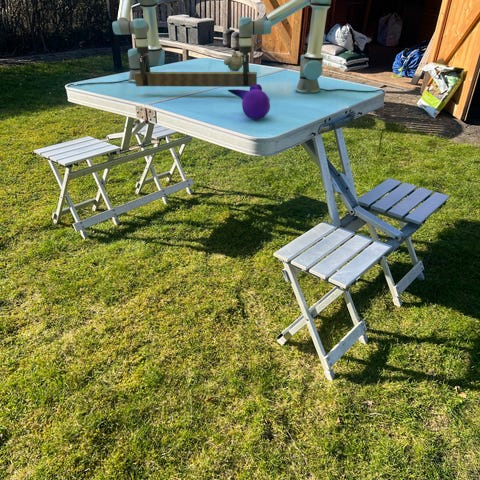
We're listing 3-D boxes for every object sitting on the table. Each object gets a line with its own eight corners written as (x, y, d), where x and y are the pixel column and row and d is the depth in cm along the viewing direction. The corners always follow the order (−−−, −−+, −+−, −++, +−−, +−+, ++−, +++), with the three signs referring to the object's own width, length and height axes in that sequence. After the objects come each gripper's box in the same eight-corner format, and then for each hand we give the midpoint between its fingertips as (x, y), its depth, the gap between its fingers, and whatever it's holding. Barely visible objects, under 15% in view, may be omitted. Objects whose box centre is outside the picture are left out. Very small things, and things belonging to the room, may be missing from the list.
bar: (136, 86, 291) (134, 73, 287) (138, 84, 296) (137, 71, 292) (256, 86, 282) (256, 73, 278) (256, 84, 287) (256, 72, 283)
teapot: (227, 73, 361) (227, 53, 353) (221, 70, 369) (220, 51, 362) (250, 70, 370) (250, 50, 362) (243, 68, 378) (242, 49, 371)
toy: (252, 108, 261) (269, 126, 240) (224, 103, 254) (239, 121, 233) (259, 81, 253) (278, 97, 232) (231, 75, 246) (247, 91, 225)
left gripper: (143, 48, 272) (148, 87, 284) (152, 44, 288) (156, 81, 300) (131, 48, 273) (137, 87, 285) (141, 44, 289) (145, 81, 301)
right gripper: (250, 47, 265) (250, 88, 277) (253, 43, 281) (253, 81, 293) (237, 47, 266) (238, 88, 278) (241, 43, 282) (242, 81, 293)
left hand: (147, 84), depth 292 cm, fingers closed on bar, 6 cm apart
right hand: (246, 84), depth 285 cm, fingers closed on bar, 6 cm apart
